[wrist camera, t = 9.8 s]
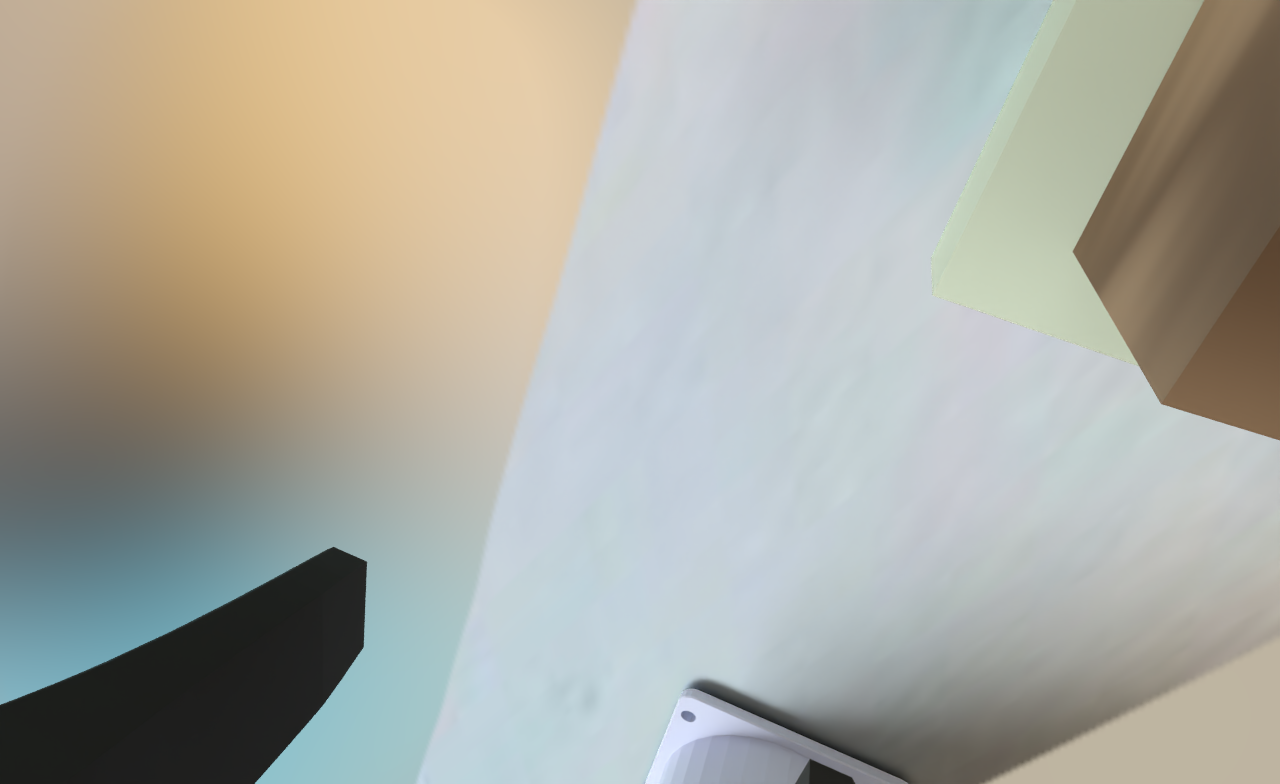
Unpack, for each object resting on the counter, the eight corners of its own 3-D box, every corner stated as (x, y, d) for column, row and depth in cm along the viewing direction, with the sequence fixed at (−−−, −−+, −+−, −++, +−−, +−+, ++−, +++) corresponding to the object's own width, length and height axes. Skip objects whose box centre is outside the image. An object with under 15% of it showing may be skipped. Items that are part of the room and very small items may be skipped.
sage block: (1298, 374, 16) (1369, 445, 13) (930, 252, 17) (932, 295, 15) (1649, -49, 12) (1846, -61, 9) (1129, -169, 13) (1178, -209, 11)
